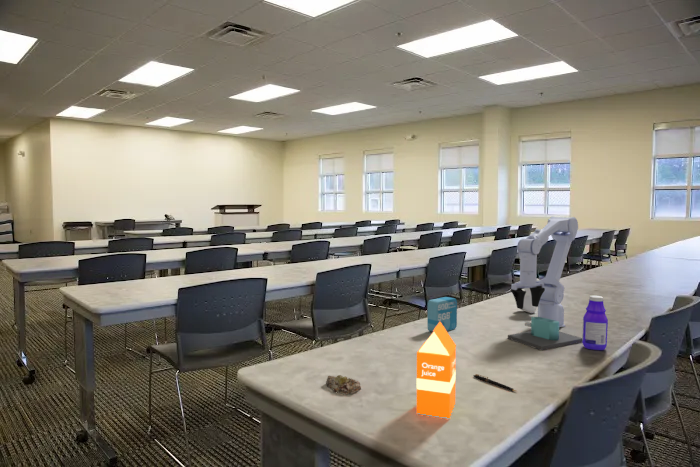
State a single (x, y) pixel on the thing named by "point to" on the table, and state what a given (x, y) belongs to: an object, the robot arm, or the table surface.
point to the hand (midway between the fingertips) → (527, 307)
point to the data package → (442, 313)
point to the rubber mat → (544, 340)
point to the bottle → (595, 324)
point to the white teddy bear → (528, 301)
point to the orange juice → (436, 374)
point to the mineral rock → (343, 384)
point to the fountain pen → (493, 382)
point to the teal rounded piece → (544, 328)
